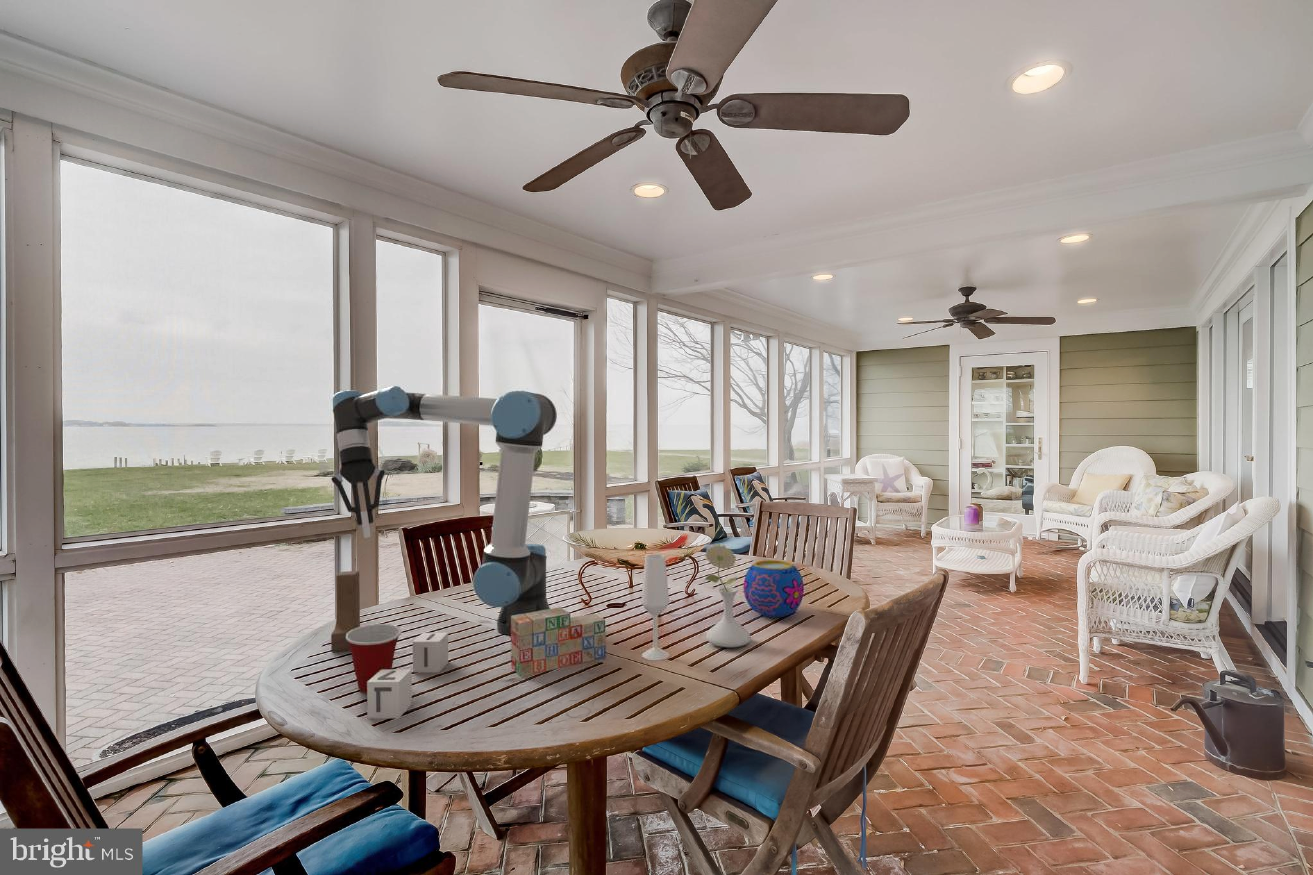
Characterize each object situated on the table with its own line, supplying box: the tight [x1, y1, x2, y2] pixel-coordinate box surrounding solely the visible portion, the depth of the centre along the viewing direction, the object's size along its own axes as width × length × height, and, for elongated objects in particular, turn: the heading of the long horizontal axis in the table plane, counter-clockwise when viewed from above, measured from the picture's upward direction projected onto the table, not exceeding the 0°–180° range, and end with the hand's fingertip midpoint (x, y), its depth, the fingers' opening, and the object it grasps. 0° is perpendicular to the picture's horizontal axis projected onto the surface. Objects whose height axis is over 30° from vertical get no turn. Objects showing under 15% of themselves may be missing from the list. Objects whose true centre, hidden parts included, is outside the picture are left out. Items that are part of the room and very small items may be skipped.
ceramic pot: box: [742, 559, 805, 618], centre depth 178 cm, size 18×18×15 cm
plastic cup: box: [346, 623, 402, 693], centre depth 129 cm, size 11×11×12 cm
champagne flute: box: [641, 553, 670, 661], centre depth 147 cm, size 7×7×24 cm
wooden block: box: [330, 570, 361, 652], centre depth 155 cm, size 9×4×18 cm, turn 12°
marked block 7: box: [366, 668, 413, 719], centre depth 118 cm, size 6×6×7 cm
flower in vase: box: [704, 543, 752, 648], centre depth 155 cm, size 13×11×25 cm
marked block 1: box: [412, 632, 449, 673], centre depth 140 cm, size 6×6×7 cm
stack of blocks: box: [510, 607, 607, 677], centre depth 142 cm, size 21×6×12 cm, turn 121°
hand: (367, 536), depth 156 cm, fingers closed
